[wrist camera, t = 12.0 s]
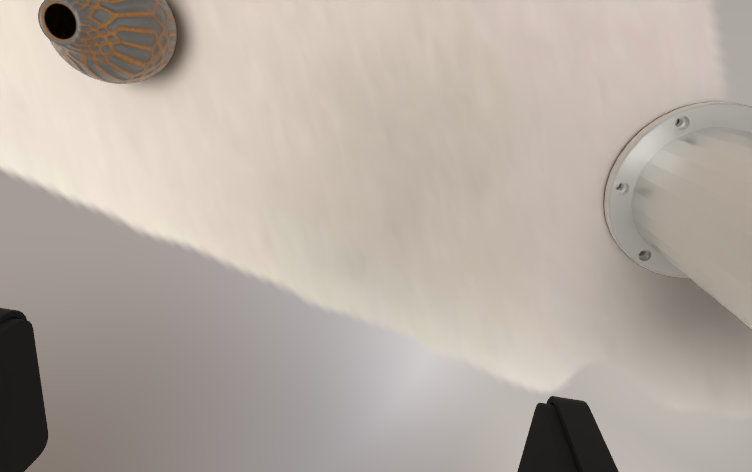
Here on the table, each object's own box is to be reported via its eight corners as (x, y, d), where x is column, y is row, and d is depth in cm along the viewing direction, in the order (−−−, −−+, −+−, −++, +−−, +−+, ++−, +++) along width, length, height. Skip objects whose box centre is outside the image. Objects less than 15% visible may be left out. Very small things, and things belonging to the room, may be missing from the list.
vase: (127, -49, 33) (31, -84, 25) (210, 24, 34) (144, 14, 26) (79, 34, 35) (-25, 28, 27) (158, 101, 36) (82, 114, 28)
